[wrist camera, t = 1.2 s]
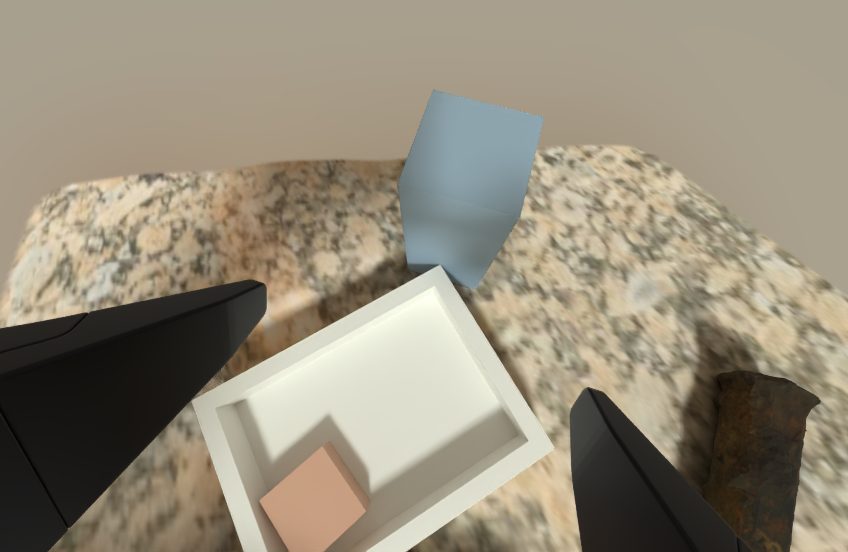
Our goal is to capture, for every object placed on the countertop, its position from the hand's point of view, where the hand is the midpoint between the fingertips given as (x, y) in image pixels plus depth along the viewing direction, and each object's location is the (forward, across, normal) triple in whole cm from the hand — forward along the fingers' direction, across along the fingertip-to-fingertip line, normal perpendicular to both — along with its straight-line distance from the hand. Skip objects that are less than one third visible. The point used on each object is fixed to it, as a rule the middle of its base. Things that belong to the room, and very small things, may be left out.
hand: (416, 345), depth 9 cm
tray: (+7, +2, +12) cm, 14 cm away
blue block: (+16, 0, +3) cm, 16 cm away
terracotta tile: (+3, +3, +15) cm, 15 cm away
